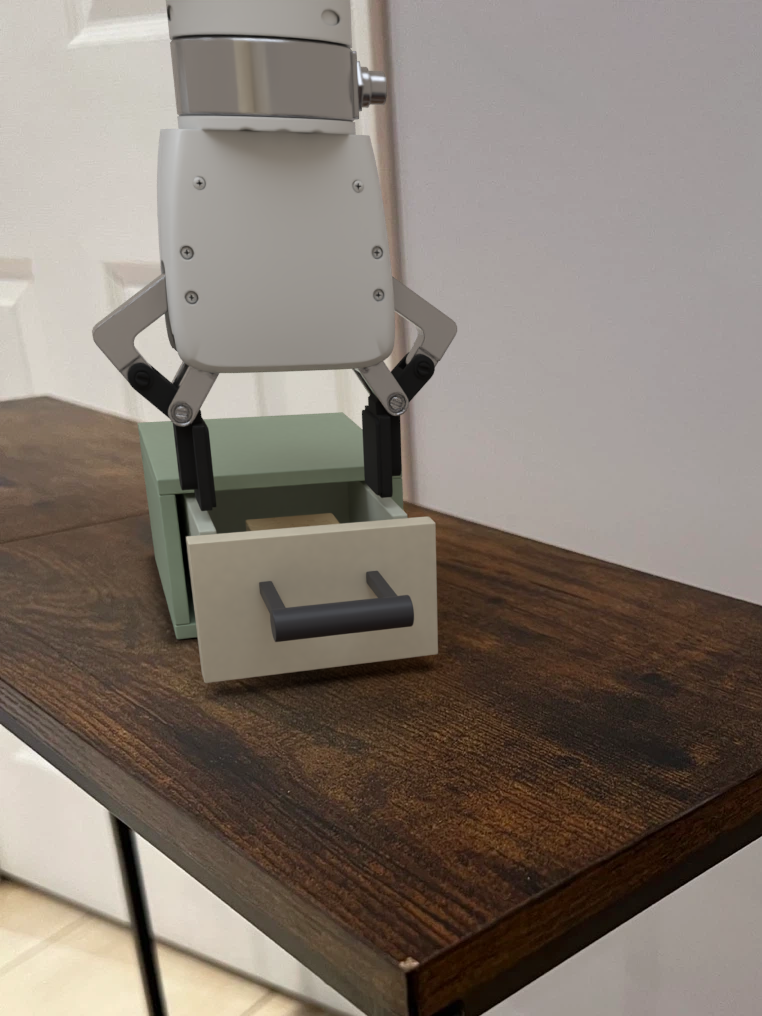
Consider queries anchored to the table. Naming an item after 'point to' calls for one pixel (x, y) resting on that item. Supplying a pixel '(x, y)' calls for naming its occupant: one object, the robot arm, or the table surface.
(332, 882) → the table surface
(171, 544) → the cabinet
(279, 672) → the drawer
